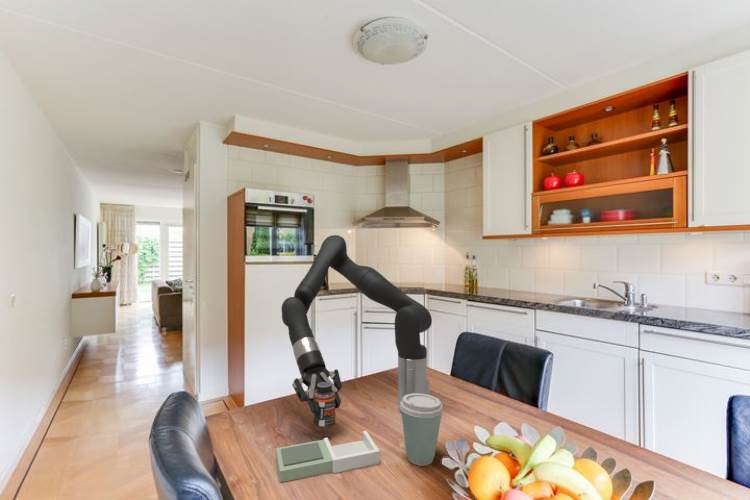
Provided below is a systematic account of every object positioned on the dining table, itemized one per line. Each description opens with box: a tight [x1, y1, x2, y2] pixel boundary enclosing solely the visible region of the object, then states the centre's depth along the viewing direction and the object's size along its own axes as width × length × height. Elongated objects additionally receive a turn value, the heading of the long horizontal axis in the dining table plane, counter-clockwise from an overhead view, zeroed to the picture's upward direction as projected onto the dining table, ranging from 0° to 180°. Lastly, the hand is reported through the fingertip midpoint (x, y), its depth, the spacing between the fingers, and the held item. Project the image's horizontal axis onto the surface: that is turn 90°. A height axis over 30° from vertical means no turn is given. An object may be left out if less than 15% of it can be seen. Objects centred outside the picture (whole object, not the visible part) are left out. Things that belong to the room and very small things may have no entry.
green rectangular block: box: [275, 439, 333, 484], centre depth 88 cm, size 12×10×3 cm
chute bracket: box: [323, 430, 381, 474], centre depth 91 cm, size 12×10×3 cm
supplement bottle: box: [313, 382, 336, 430], centre depth 101 cm, size 6×6×11 cm
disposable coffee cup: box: [399, 393, 444, 467], centre depth 90 cm, size 11×11×15 cm
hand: (327, 409), depth 100 cm, fingers closed on supplement bottle, 6 cm apart
